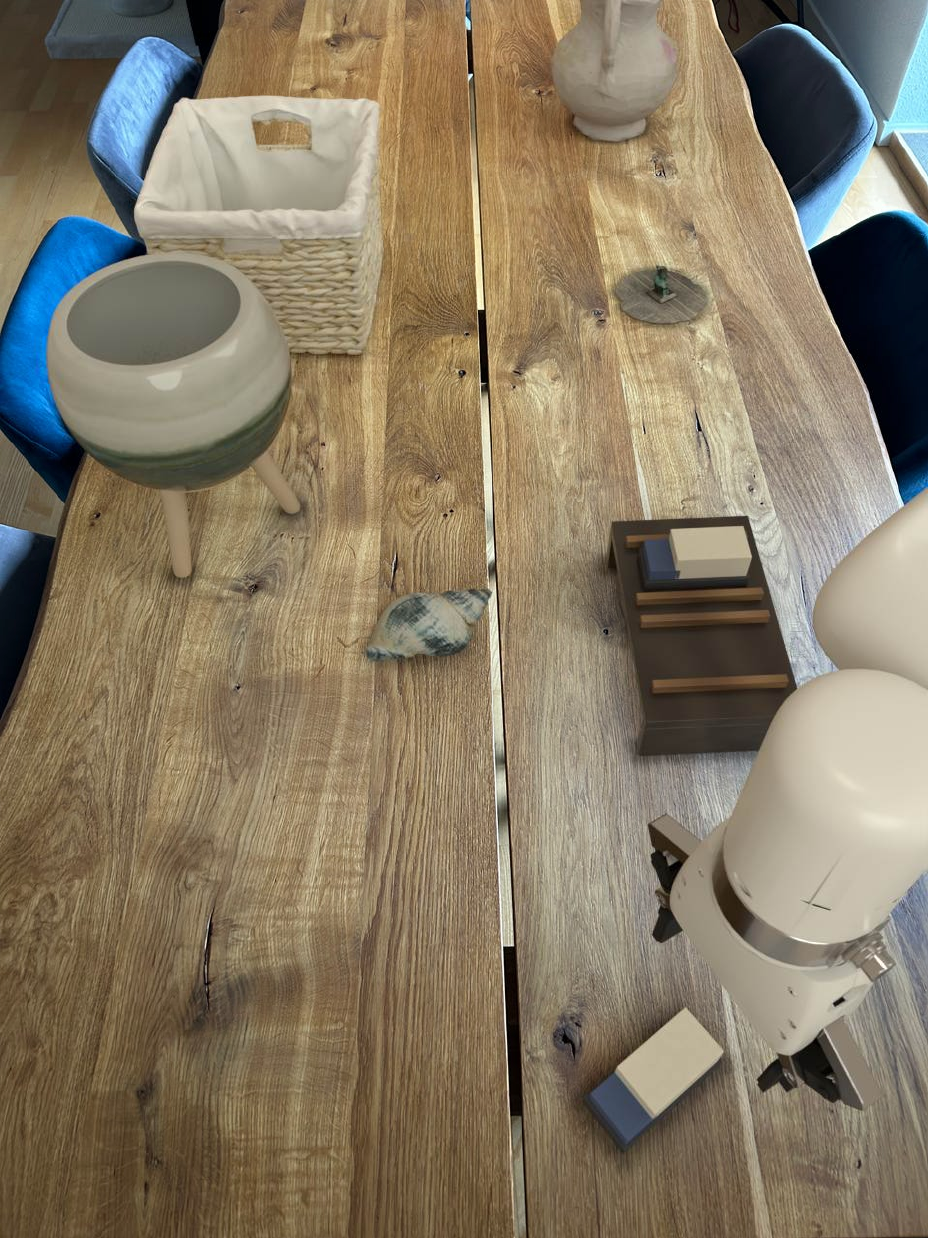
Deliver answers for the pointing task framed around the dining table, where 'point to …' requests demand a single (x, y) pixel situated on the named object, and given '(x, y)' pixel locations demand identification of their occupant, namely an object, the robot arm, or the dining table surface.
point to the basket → (277, 208)
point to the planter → (173, 379)
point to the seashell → (427, 624)
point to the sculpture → (660, 296)
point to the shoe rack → (701, 650)
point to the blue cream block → (654, 1079)
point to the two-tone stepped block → (696, 559)
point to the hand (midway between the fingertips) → (725, 997)
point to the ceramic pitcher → (614, 68)
